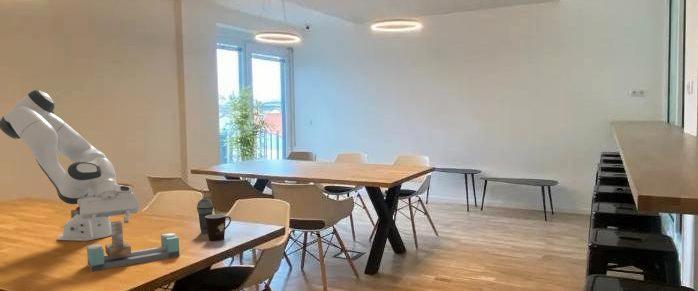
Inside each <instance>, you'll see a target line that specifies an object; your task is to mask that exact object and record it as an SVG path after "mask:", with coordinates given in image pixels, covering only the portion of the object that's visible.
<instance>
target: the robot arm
mask: <svg viewBox="0 0 698 291" xmlns="http://www.w3.org/2000/svg"><path fill="white" fill-rule="evenodd" d="M0 130H1V131H2V133H3V134H4V135H6V137H10V138H11V139H14V140H17V139H21V140H22V141H23V143H24V144H25V145H26V147H27V148H28V149H29V150H30V152H31V153H32V156H33V157H34V159H35V161H36V163H37V164H38V166H39V168H40V169H41V170H42V171H43V173H44V174H45V176H47V178H48V179H49V181H50V182H51V184H52V185H53V186H54V188H55V189H56V193H57V195H58V198H59V199H60V200H61V201H62V202H64V203H65V204H69V205H77V207H75V209H74V210H75V211H77V215H76V216H74V217H73V218H72V219H71V218H70V219H69V220H68V221H66V223H65V224H64V225H63V229H62V230H63V231H62V233H61V234H60V235H58V236H57V241H80V242H81V241H82V242H85V241H86V242H87V241H88V242H89V241H91V240H96V239H101V238H107V237H110V236H112V232H111V222H112V221H111V217H114V216H115V217H116V216H121V215H122V216H123V215H125V217H123V224H129V223H130V222H129V221H130V220H129V218H130V216H131V214H137V213H138V212H139V210H140V204H139V200H138V197H137V196H136V194H135V193H134V192H133V187H132V186H127V185H121V184H118V182H117V173H116V170H115V167H114V165H113V163H112V162H111V161H110V160H109V159H108V157H107V156H106V155H105V153H104V152H102V151H100V150H99V149H97V148H96V147H95V146H93V145H92V144H91V142H89V141H88V140H87V139H86V138H85V137H83V136H82V135H81V134H80V133H79V132H77V131H76V130H75V129H74V128H73V127H72V126H70V125H69V124H68V123H67V122H66V121H64V120H63V119H62V118H60V116H57V115H56V114H55V102H54V101H53V98H52V97H51V96H50V95H49V94H48V93H47V92H44V91H42V90H40V89H39V90H38V89H33V90H32V91H30V92H29V93H27V95H25V96H23V98H22V99H20V100H18V101H17V102H16V103H15V104H14V106H12V108H10V110H8V112H7V113H5V115H3V116H2V117H1V118H0ZM58 153H59V154H61V155H62V156H63V157H64V158H65V159H67V160H68V161H69V162H71V163H70V165H69V166H68V167H67V169H66V170H65V169H64V168H63V166H62V165H61V163H60V161H59V158H58Z"/></svg>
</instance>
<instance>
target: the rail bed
mask: <svg viewBox="0 0 698 291" xmlns="http://www.w3.org/2000/svg"><path fill="white" fill-rule="evenodd" d="M179 239H180V238H179V237H178V236H177V235H176V233H172V232H169V233H162V234H160V244H161V246H159V247H152V248H145V249H140V250H134V251H132V250H131V255H126V256H120V257H114V258H110V257H109V256H108V255H105V251H104V248H103V246H102V245H103V244H99V243H96V244H90V245H86V253H87V255H86V256H87V266H88V265H89V266H88V267H89V269H90V271H91V270H92V271H91V272H97V271H102V269H103V270H106V269H107V270H108V268H109V269H114V268H113V267H115V268H119V267H118V266H120V267H124V266H125V265H126V266H131V265H136V263H137V264H141V263H142V262H143V263H146V262H152V261H153V262H154V261H158V260H164V259H165V260H166V259H169V258H175V257H176V258H177V257H180V256H181V255H180V254H181V253H180V240H179ZM143 263H142V264H143ZM130 264H131V265H130ZM126 266H125V267H126Z"/></svg>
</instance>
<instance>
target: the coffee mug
mask: <svg viewBox="0 0 698 291" xmlns="http://www.w3.org/2000/svg"><path fill="white" fill-rule="evenodd" d="M227 218H228V219H229V221H228V223H227V225H226V221H227V220H226V219H227ZM205 219H206V225H207V231H208V234H207V236H208V241H210V242H220V241H224V240H225V233H226V230H227V228H228V227H229V226H230V224H231V222H232V219H231V216H227V214H224V213H223V214H222V213H217V214H216V213H215V214H213V213H212V215H208V216H205Z"/></svg>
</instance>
